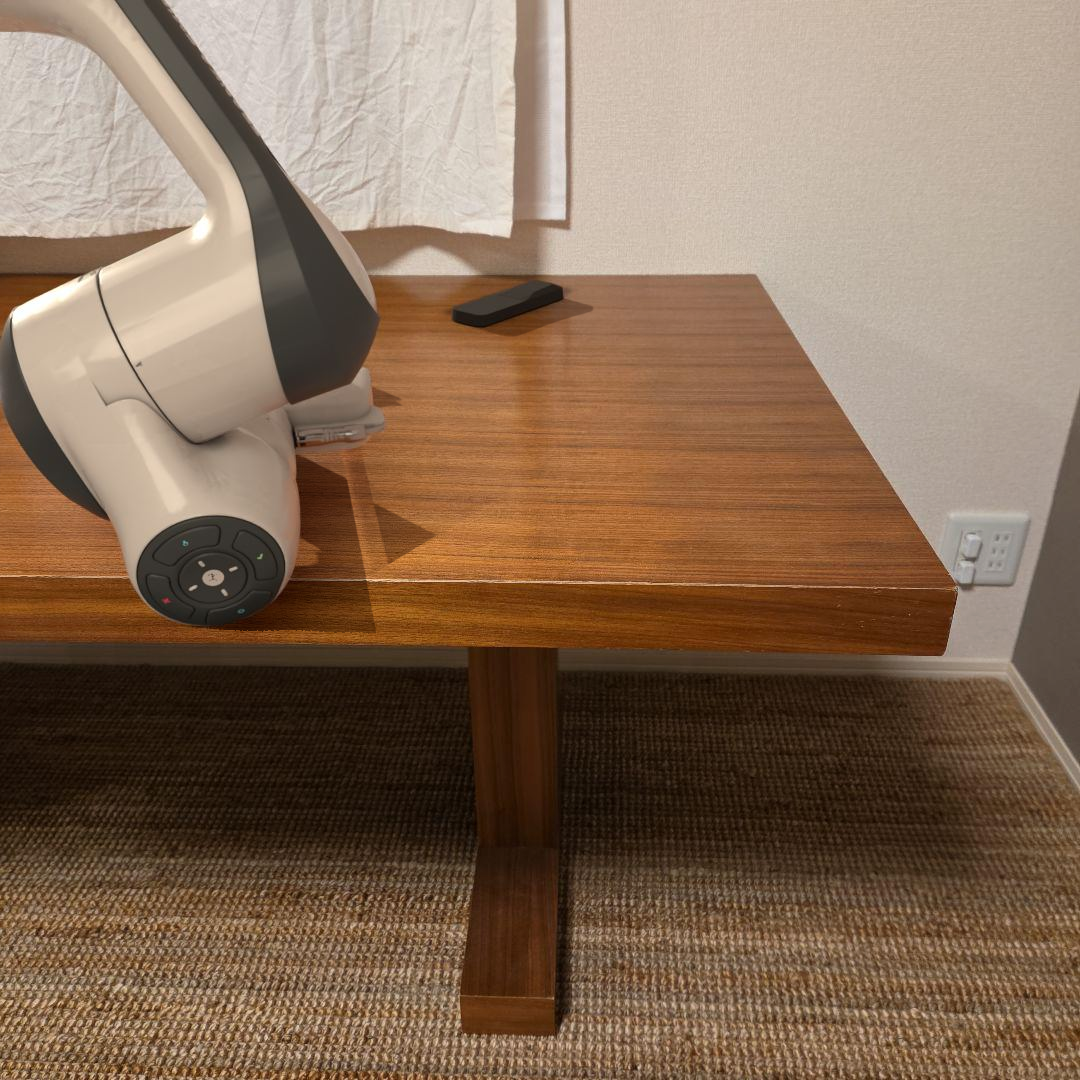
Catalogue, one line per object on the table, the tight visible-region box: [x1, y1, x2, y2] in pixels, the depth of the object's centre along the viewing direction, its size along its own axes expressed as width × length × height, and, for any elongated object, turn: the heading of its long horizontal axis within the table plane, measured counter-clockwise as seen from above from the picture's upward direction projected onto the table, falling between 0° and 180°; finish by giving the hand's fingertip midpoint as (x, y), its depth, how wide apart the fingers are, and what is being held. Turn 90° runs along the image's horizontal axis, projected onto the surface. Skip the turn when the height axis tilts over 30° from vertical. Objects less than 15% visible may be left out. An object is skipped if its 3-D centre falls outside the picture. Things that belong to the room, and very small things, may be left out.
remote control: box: [451, 279, 565, 328], centre depth 114 cm, size 5×2×15 cm
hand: (225, 375), depth 74 cm, fingers closed on can, 7 cm apart
